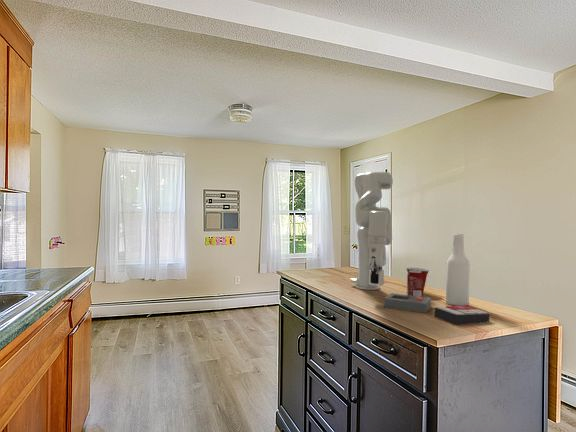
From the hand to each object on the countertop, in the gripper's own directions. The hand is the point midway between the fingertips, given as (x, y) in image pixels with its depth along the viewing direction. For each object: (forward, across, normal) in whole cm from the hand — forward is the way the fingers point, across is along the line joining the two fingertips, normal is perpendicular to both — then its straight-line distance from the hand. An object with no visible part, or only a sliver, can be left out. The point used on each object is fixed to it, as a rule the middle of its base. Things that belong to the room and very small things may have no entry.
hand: (376, 281), depth 154 cm
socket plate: (+9, -1, -13) cm, 16 cm away
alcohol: (+9, +16, -30) cm, 36 cm away
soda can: (+9, +19, -12) cm, 25 cm away
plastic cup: (+10, +31, -11) cm, 35 cm away
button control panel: (+9, -8, -34) cm, 36 cm away
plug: (+1, 0, 0) cm, 1 cm away
